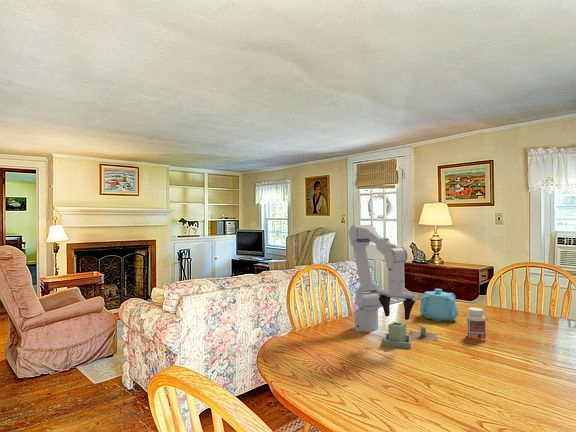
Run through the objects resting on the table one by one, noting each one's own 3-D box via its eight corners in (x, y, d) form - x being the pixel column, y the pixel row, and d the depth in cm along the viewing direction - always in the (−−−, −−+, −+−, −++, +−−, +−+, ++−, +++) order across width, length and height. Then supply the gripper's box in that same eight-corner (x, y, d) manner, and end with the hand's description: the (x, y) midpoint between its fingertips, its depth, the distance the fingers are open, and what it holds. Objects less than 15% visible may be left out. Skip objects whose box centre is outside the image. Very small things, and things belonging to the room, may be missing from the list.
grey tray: (383, 348, 130) (382, 341, 130) (385, 339, 139) (385, 333, 139) (410, 350, 127) (410, 343, 127) (411, 342, 136) (411, 335, 136)
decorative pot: (415, 320, 165) (414, 290, 165) (424, 312, 178) (424, 284, 178) (454, 326, 155) (453, 294, 156) (461, 317, 169) (460, 287, 169)
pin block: (409, 341, 137) (409, 329, 137) (409, 333, 146) (409, 322, 146) (438, 343, 133) (437, 332, 133) (436, 335, 143) (436, 324, 143)
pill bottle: (489, 341, 136) (488, 310, 136) (474, 342, 135) (473, 311, 135) (478, 335, 142) (478, 306, 142) (464, 336, 141) (463, 307, 141)
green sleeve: (388, 343, 133) (388, 324, 133) (394, 340, 136) (394, 321, 136) (400, 346, 130) (400, 326, 130) (406, 343, 133) (405, 323, 133)
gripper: (420, 280, 132) (420, 318, 132) (383, 277, 141) (383, 312, 141) (412, 283, 126) (413, 323, 126) (374, 279, 136) (375, 316, 136)
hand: (397, 317), depth 133 cm, fingers open, 7 cm apart
